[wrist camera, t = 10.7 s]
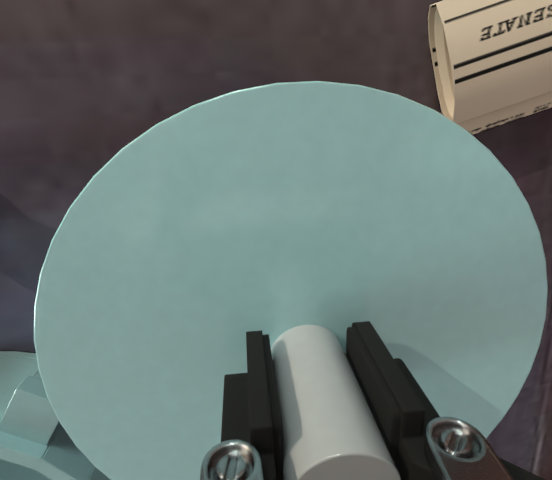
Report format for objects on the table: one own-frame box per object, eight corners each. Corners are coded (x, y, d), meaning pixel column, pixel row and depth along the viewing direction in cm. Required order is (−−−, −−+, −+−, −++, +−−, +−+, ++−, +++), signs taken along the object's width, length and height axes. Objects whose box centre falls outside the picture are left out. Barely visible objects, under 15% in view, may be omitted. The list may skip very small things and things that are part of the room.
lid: (-21, 424, 14) (-213, 654, 8) (195, -52, 10) (129, -307, 4) (356, 544, 18) (413, 751, 12) (615, 250, 14) (887, 348, 8)
